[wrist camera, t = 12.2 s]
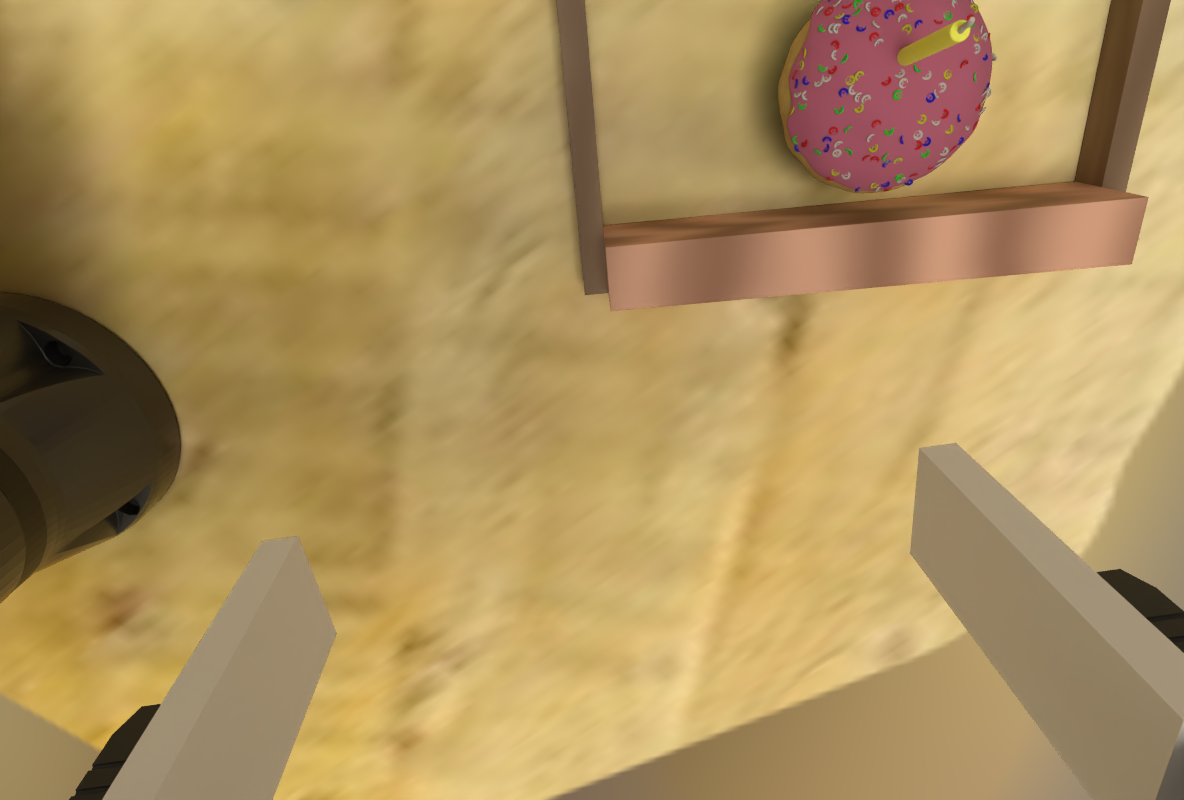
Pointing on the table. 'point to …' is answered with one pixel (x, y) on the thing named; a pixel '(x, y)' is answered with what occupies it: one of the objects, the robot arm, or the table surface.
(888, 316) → the table surface
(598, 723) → the table surface
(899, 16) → the cupcake
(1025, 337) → the table surface
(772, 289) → the brown wooden open frame
